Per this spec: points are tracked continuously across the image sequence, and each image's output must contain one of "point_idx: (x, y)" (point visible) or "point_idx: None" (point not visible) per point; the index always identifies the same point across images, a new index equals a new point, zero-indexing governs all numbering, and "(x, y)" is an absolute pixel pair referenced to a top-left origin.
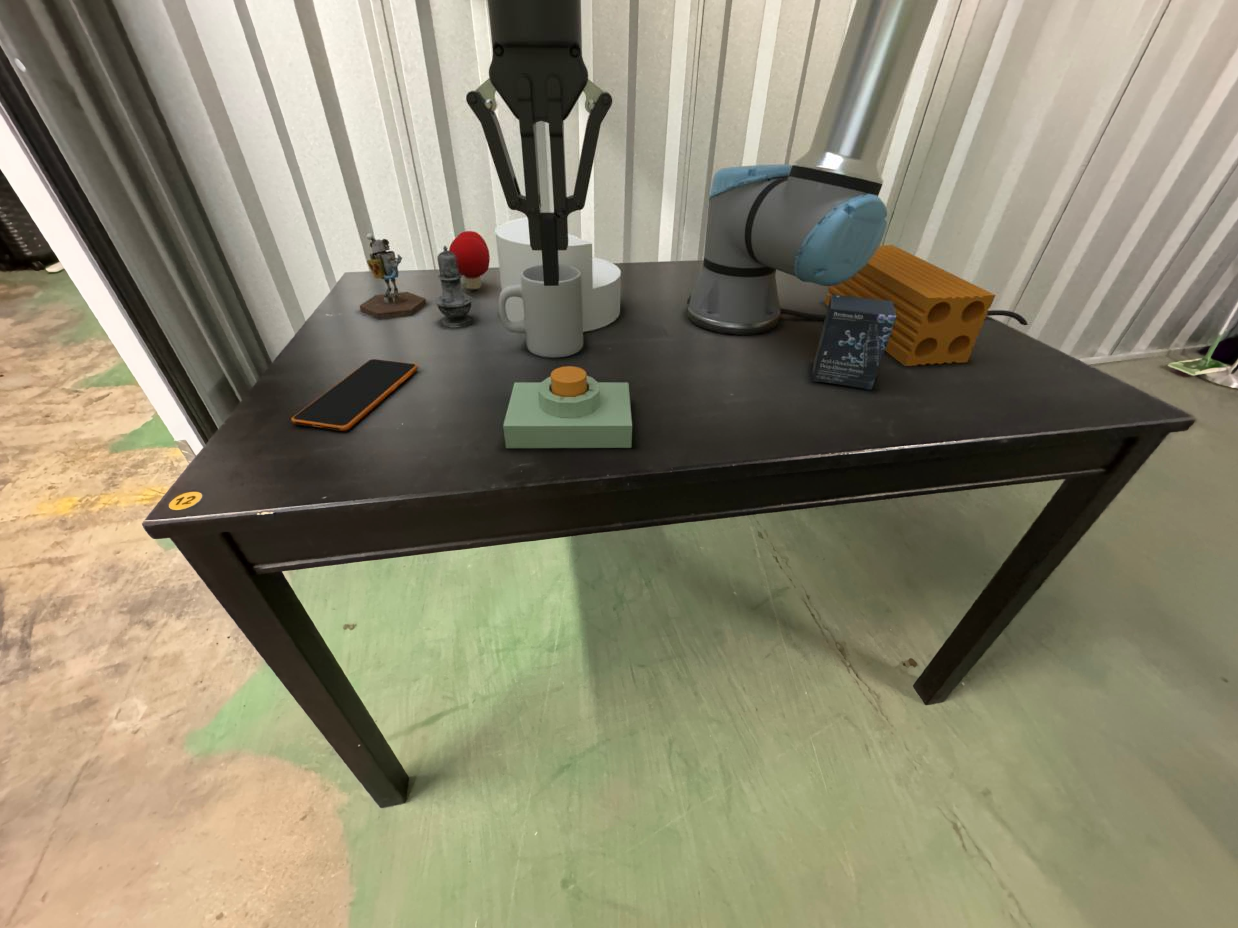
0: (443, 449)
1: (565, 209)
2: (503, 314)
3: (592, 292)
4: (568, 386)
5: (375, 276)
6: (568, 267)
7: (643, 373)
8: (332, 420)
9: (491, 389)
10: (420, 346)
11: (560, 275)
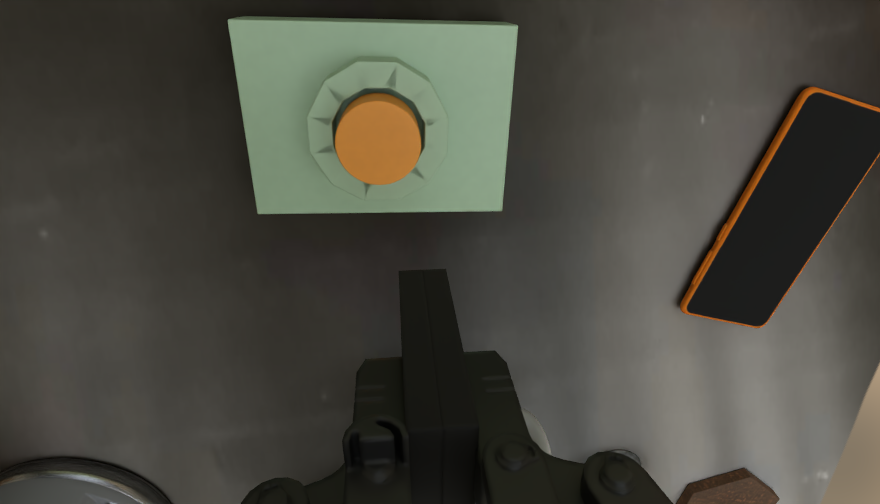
0: (626, 23)
1: (349, 474)
2: (537, 432)
3: None
4: (375, 98)
5: None
6: None
7: (247, 310)
8: (832, 111)
9: (543, 244)
10: (673, 386)
11: None
